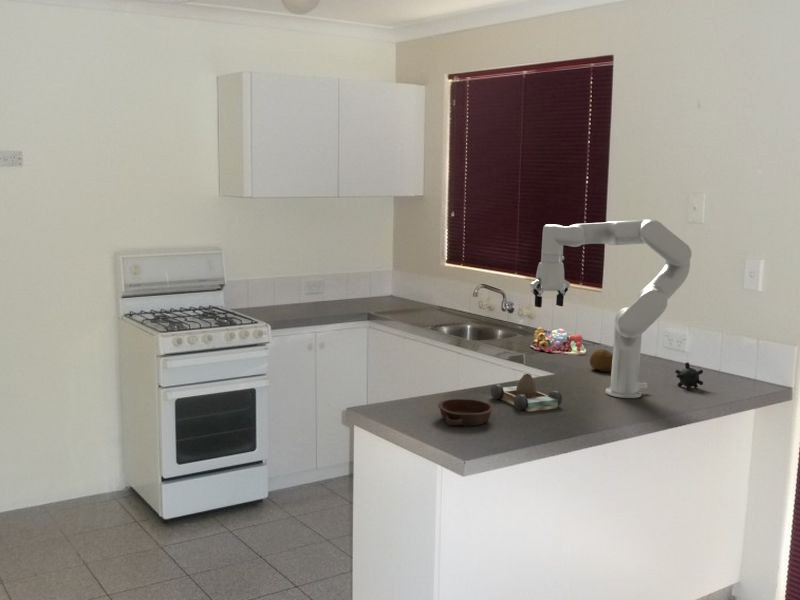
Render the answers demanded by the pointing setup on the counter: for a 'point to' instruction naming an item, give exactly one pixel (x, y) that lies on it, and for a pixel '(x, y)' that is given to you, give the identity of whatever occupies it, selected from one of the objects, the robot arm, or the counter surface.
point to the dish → (465, 411)
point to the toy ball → (689, 377)
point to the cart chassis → (525, 403)
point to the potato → (601, 360)
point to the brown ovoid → (526, 386)
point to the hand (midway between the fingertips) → (548, 306)
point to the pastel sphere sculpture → (558, 342)
